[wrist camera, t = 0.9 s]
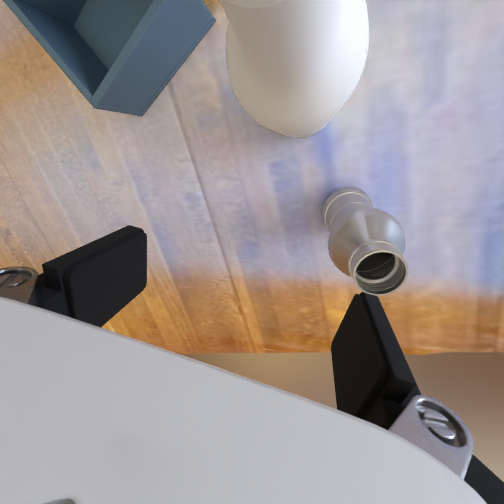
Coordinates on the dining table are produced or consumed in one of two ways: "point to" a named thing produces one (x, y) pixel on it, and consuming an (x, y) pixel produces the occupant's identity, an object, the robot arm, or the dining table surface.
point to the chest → (117, 44)
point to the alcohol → (295, 59)
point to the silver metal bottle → (365, 242)
